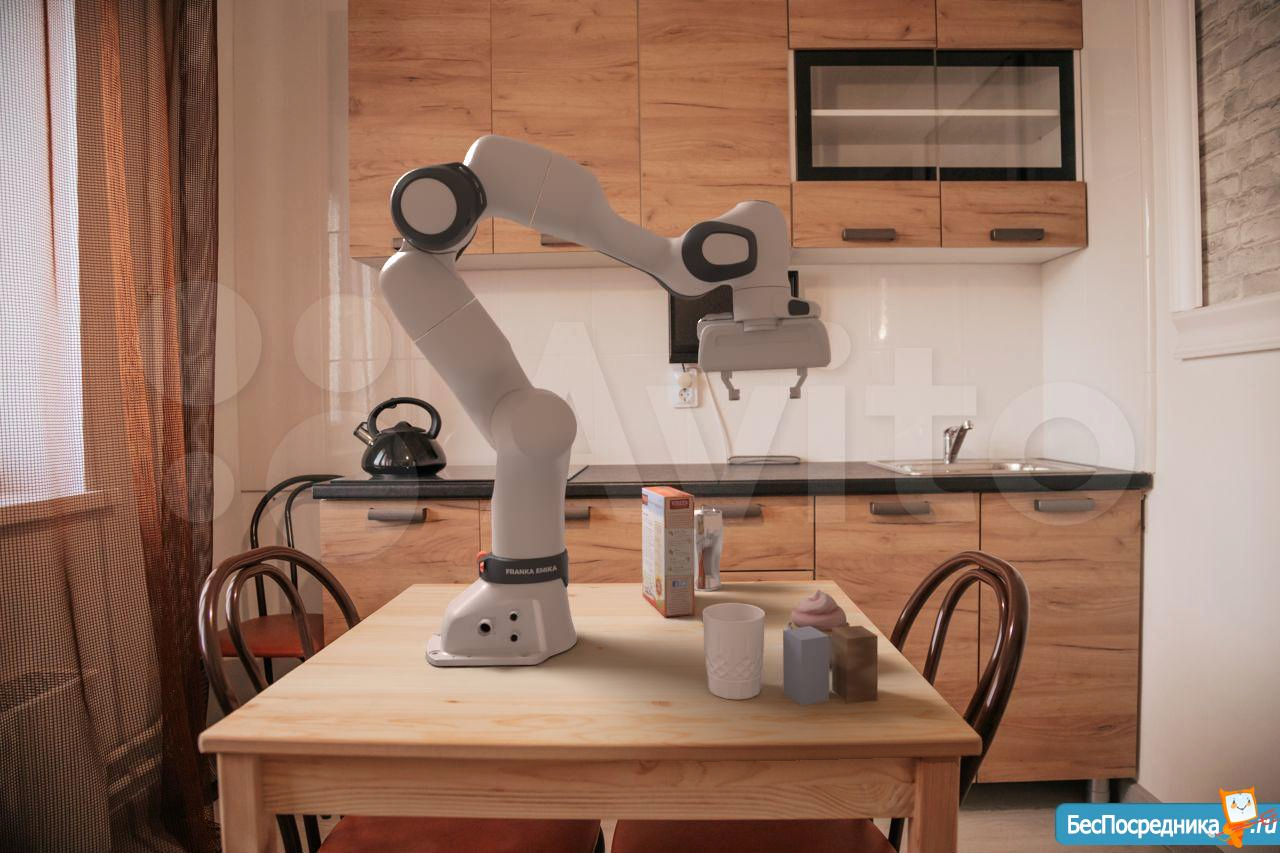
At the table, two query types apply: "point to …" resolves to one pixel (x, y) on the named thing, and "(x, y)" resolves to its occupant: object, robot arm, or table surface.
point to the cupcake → (819, 616)
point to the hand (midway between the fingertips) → (764, 399)
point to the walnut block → (855, 664)
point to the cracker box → (668, 550)
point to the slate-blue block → (806, 665)
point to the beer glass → (707, 549)
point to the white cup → (734, 649)
